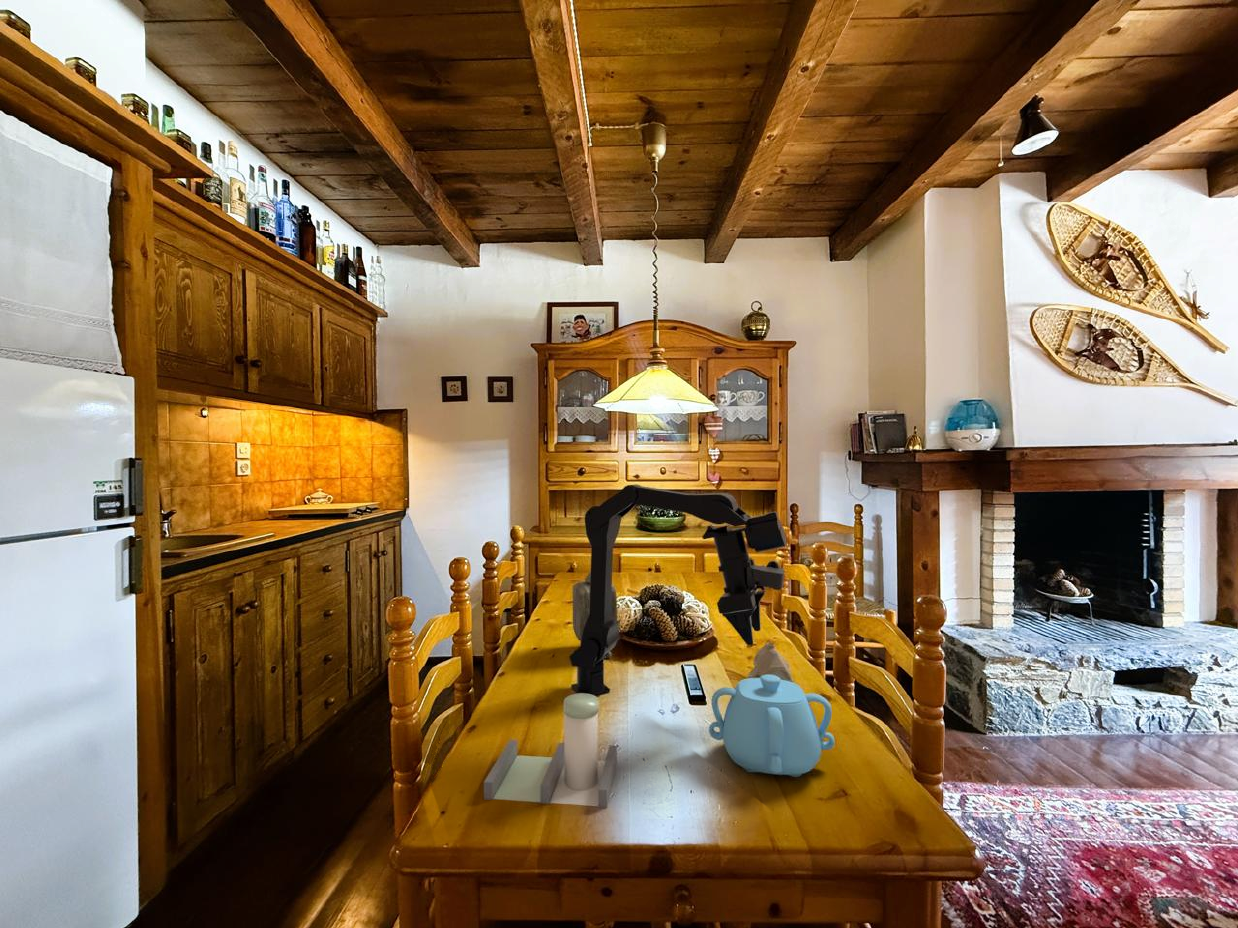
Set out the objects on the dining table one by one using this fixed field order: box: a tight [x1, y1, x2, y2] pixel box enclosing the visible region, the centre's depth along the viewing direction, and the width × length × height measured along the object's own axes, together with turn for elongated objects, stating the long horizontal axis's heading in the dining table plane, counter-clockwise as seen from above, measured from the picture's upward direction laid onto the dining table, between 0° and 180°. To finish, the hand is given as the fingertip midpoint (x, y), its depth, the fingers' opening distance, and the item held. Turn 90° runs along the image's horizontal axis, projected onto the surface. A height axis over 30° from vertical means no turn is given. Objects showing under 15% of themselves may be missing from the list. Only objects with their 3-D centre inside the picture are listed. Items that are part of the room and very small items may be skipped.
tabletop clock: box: [572, 572, 618, 659], centre depth 142 cm, size 14×9×25 cm, turn 13°
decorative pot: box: [708, 675, 836, 778], centre depth 91 cm, size 20×20×14 cm
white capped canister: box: [563, 693, 599, 790], centre depth 83 cm, size 5×5×12 cm
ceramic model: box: [748, 642, 795, 683], centre depth 119 cm, size 14×11×10 cm
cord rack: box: [483, 739, 618, 809], centre depth 83 cm, size 12×18×4 cm
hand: (754, 637), depth 105 cm, fingers open, 9 cm apart
